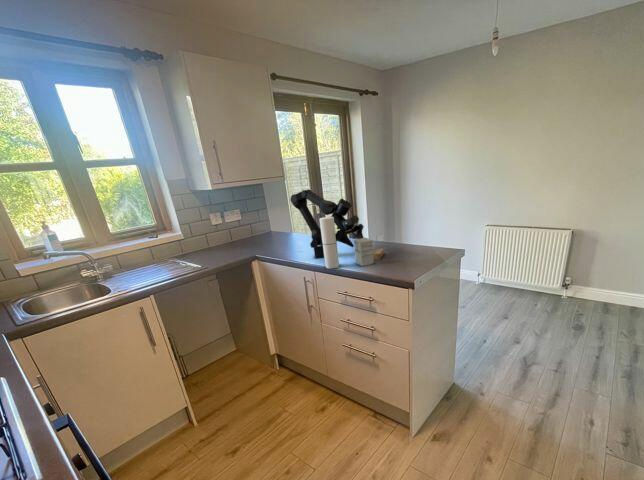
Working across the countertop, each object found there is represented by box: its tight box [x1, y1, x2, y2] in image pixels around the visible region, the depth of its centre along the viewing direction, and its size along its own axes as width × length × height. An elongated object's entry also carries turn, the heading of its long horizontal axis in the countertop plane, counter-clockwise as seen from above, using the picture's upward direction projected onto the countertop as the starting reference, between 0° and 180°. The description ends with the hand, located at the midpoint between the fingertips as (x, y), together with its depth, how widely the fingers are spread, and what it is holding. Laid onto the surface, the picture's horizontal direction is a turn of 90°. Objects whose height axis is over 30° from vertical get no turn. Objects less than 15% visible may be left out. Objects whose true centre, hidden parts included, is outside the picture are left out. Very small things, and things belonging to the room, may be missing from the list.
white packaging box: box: [353, 237, 375, 267], centre depth 161 cm, size 7×7×13 cm
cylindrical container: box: [319, 216, 340, 270], centre depth 159 cm, size 7×7×25 cm
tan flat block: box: [373, 248, 385, 260], centre depth 173 cm, size 11×10×3 cm
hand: (358, 244), depth 161 cm, fingers open, 9 cm apart
